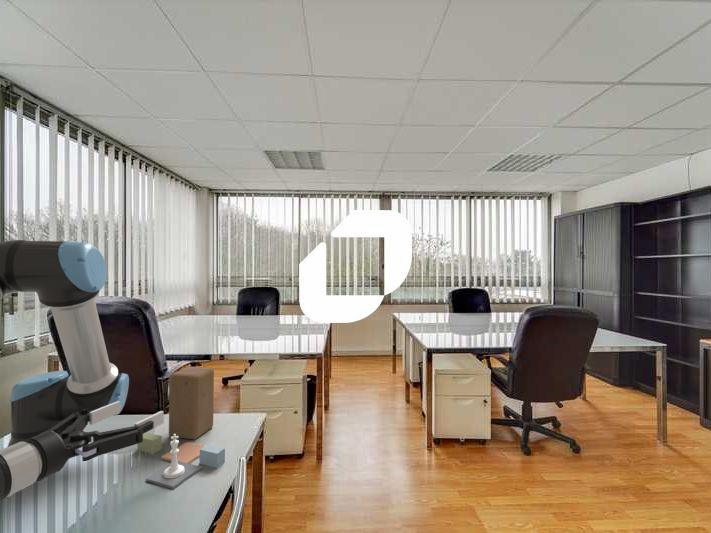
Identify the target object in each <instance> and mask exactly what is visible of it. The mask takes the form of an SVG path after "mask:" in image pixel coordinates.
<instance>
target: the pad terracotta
mask: <svg viewBox="0 0 711 533" xmlns="http://www.w3.org/2000/svg"><path fill="white" fill-rule="evenodd" d="M204 446H205V445H203V444H197V443H194V442H188V441H186V442H184V443H183V444H181V445H178V446H177V449H179V452H177V461H180V462H184V463H188V464H191V463H193V462H194V461H196V460H197V459H199V458H200V449H201V448H203V447H204ZM161 459H162V460H164V461H168V462H171V461H172V454H171V453H170V451H169V452H167V453H165V454H163V455H162V456H161Z"/></svg>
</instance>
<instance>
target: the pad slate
mask: <svg viewBox="0 0 711 533" xmlns="http://www.w3.org/2000/svg"><path fill="white" fill-rule="evenodd" d="M177 462H178V464H179V465H182V466H184V469H185V471H184V473H183V474H182V475H180V476H178V477H175V478H165V477H164V476H163V474H164V471H165V469H167V468H168V467H170V466H171V462H170V463H168V464H167V465H166V466H164V467H162V468H161V469H159V470H157V471H156V472H155V473H153V474H151V475H149V476H148V477H146V478H145V482H149V483H152V484H156V485H158V486H162V487H164V488H165V487H166V488H168V489H172V490H175V488H177V487H179V486H180V485H181V484H182V483H184V482H185V481H187V480H188V479H190V478H191V477H192V476H194V475H195V474H196V473H198V472H199V471H201V470H202V466H199V465H195V464H191V463H189V464H188V463H184V462H180V461H177Z"/></svg>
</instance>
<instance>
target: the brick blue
mask: <svg viewBox="0 0 711 533" xmlns="http://www.w3.org/2000/svg"><path fill="white" fill-rule="evenodd" d="M203 446H204V447H203V448H201V449H200V457H199V464H200V465H204V466H207V467H211V468H215V469H218V468H219V467H221V466H222V465H223V464H225V462H226V460H225V459H226V448H224V447H221V446H216V445H212V444H206V445H203Z"/></svg>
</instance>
